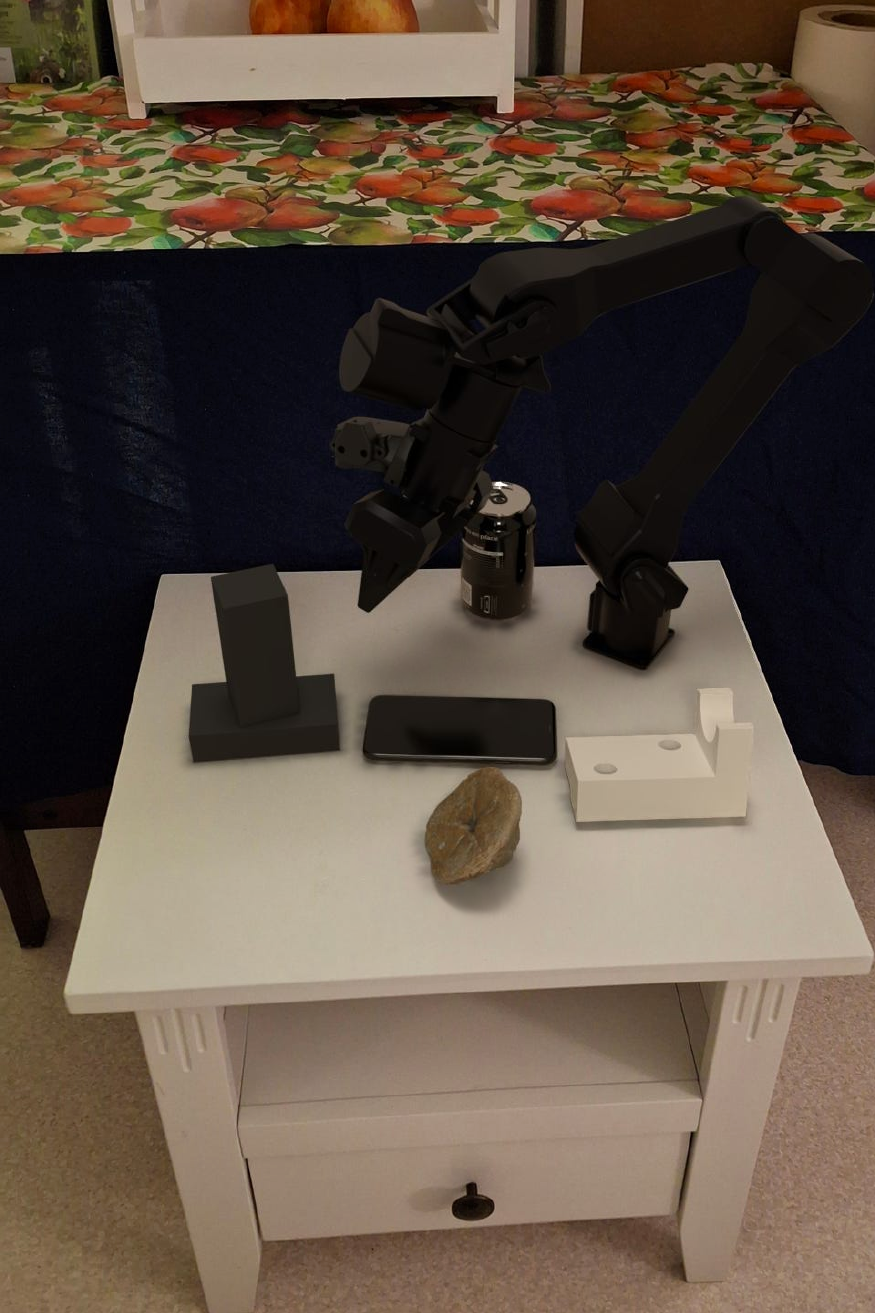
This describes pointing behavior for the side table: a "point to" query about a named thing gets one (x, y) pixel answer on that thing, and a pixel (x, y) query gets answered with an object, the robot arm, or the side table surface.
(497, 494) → the beverage can
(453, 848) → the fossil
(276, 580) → the black pad block
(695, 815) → the bracket
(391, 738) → the smartphone
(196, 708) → the base pad
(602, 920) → the side table surface
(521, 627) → the side table surface
